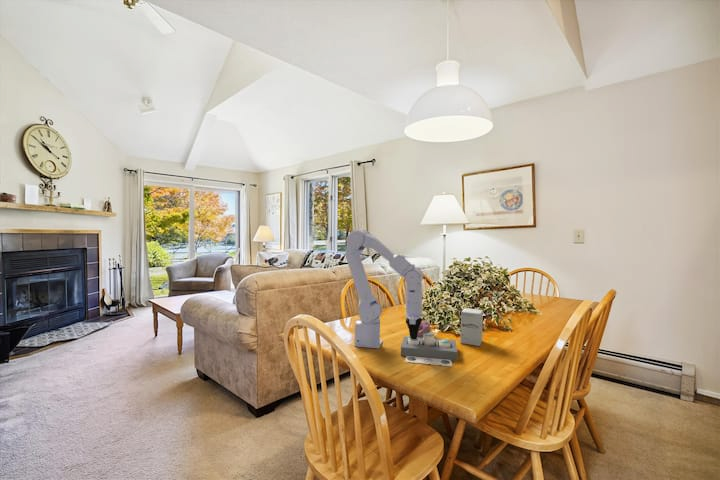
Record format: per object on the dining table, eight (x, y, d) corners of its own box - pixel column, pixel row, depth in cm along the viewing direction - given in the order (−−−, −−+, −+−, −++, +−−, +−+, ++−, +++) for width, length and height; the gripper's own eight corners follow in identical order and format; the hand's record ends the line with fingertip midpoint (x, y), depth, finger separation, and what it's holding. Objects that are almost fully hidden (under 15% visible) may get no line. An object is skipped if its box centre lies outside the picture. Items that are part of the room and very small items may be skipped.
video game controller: (426, 342, 133) (434, 327, 133) (416, 337, 133) (424, 322, 133) (421, 335, 143) (429, 320, 143) (412, 330, 143) (419, 316, 143)
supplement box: (459, 343, 127) (460, 311, 127) (463, 338, 134) (463, 307, 134) (480, 346, 124) (480, 313, 124) (482, 341, 131) (483, 309, 130)
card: (405, 362, 109) (405, 361, 109) (406, 356, 114) (406, 355, 114) (451, 366, 106) (451, 365, 106) (451, 360, 111) (451, 359, 111)
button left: (407, 351, 118) (407, 339, 118) (408, 347, 122) (408, 336, 122) (418, 352, 117) (418, 340, 117) (419, 348, 121) (419, 337, 121)
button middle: (423, 347, 117) (423, 335, 117) (423, 343, 121) (423, 332, 121) (434, 348, 116) (434, 336, 116) (434, 344, 120) (434, 333, 120)
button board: (400, 355, 115) (400, 347, 115) (404, 344, 127) (404, 336, 126) (457, 360, 111) (457, 351, 110) (455, 348, 122) (455, 340, 122)
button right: (438, 354, 116) (439, 342, 116) (438, 350, 120) (439, 338, 120) (450, 355, 115) (450, 343, 115) (450, 351, 119) (450, 339, 119)
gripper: (424, 306, 111) (424, 346, 112) (425, 298, 125) (425, 333, 126) (403, 305, 113) (403, 344, 113) (407, 297, 127) (407, 332, 127)
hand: (413, 338), depth 120 cm, fingers closed, pressing on button left
